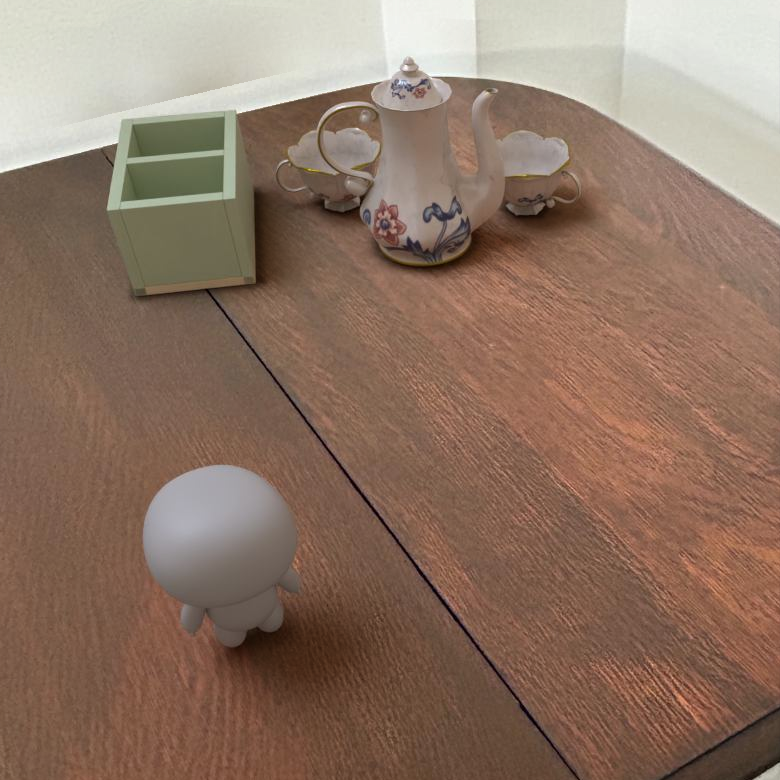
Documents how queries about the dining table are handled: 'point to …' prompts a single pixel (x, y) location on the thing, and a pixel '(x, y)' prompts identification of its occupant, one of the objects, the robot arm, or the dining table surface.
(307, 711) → the dining table surface
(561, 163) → the chinaware
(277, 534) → the figurine
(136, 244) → the shelf
